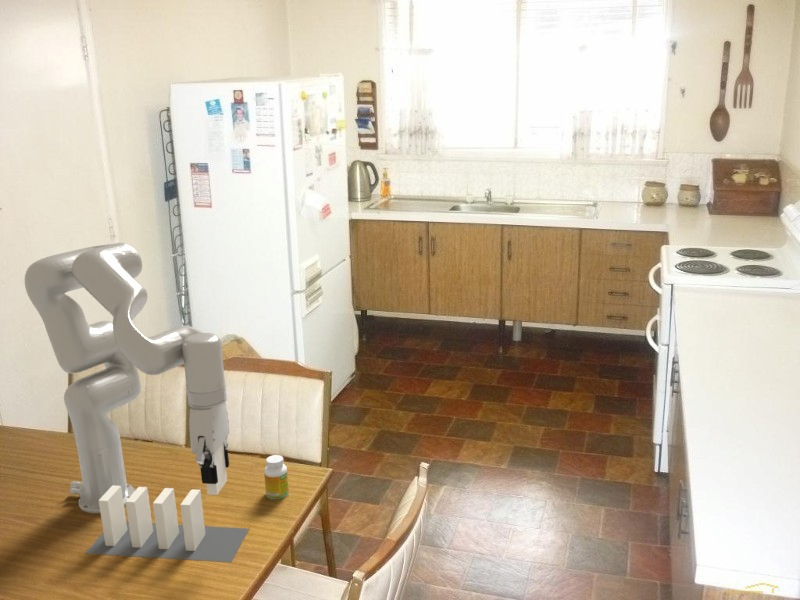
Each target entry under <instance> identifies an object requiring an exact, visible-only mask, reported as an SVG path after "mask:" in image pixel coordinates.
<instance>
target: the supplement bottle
mask: <svg viewBox="0 0 800 600" xmlns="http://www.w3.org/2000/svg"><path fill="white" fill-rule="evenodd" d="M265 461H266V466H265V468H264V469H263V473H264V474H263V475H264V486H265V495H266V497H267V498H269V499H271V500H280V499H283V498H286V497H288V496H289V493H290V490H289V488H290V487H289V478H288V467H287V466H286V464H284V457H283V456H282V455H279V454H274V455H272V454H271V455H270V456H268V457H266V459H265Z"/></svg>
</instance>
